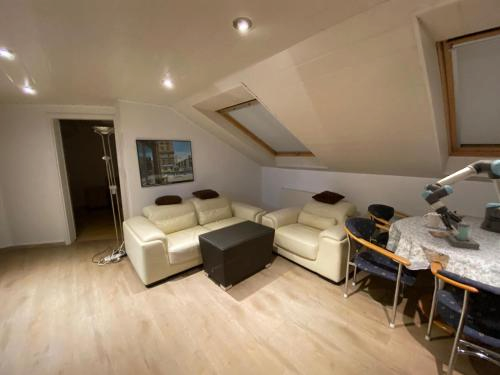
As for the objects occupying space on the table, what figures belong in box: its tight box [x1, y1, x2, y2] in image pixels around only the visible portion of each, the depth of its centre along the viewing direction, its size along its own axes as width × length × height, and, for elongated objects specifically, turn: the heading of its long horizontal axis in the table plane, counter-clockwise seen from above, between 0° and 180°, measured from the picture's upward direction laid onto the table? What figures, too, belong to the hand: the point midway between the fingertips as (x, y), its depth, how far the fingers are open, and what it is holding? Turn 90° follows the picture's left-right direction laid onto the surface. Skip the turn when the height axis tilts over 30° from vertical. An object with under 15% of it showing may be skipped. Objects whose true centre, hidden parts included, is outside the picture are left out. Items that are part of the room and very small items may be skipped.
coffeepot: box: [445, 210, 466, 233], centre depth 182 cm, size 15×9×18 cm, turn 34°
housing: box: [445, 234, 481, 251], centre depth 158 cm, size 14×14×4 cm
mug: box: [422, 212, 441, 229], centre depth 195 cm, size 12×8×12 cm
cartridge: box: [456, 221, 471, 241], centre depth 157 cm, size 6×6×17 cm
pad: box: [428, 230, 455, 239], centre depth 175 cm, size 16×12×1 cm
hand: (461, 231), depth 157 cm, fingers open, 13 cm apart
